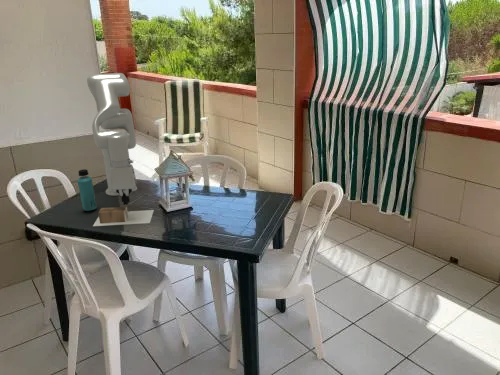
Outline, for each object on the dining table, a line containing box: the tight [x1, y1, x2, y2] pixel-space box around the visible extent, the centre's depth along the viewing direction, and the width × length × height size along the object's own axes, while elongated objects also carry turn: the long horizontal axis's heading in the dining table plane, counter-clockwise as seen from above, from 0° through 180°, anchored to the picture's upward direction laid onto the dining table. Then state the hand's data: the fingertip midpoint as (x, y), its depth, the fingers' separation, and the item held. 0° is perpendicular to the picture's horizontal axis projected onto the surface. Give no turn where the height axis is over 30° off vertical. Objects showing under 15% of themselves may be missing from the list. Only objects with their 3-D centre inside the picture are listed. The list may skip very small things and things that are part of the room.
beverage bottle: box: [77, 168, 97, 212], centre depth 185 cm, size 6×7×20 cm
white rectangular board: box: [92, 209, 155, 227], centre depth 180 cm, size 14×24×1 cm, turn 95°
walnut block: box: [97, 206, 128, 223], centre depth 177 cm, size 5×5×11 cm
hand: (126, 203), depth 176 cm, fingers closed
